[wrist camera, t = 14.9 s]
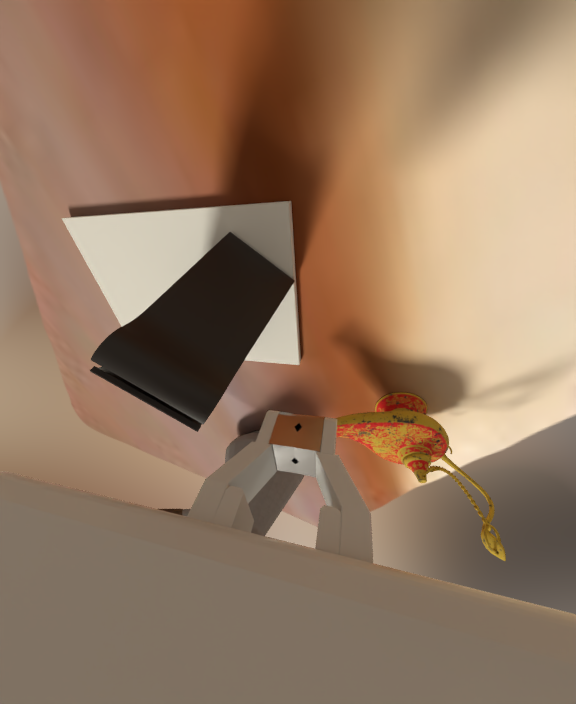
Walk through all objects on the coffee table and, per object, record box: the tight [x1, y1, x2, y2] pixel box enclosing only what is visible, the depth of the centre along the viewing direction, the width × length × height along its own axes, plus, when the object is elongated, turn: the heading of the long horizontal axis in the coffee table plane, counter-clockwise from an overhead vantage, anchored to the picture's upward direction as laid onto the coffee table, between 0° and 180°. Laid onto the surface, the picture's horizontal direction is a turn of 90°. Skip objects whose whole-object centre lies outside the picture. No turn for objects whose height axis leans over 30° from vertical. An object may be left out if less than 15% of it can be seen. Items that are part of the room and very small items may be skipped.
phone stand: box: [90, 232, 295, 432], centre depth 17 cm, size 9×6×12 cm, turn 146°
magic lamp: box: [335, 392, 506, 561], centre depth 21 cm, size 7×18×11 cm, turn 73°
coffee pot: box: [158, 431, 304, 536], centre depth 30 cm, size 21×12×15 cm, turn 69°
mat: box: [62, 201, 301, 365], centre depth 23 cm, size 20×14×1 cm
